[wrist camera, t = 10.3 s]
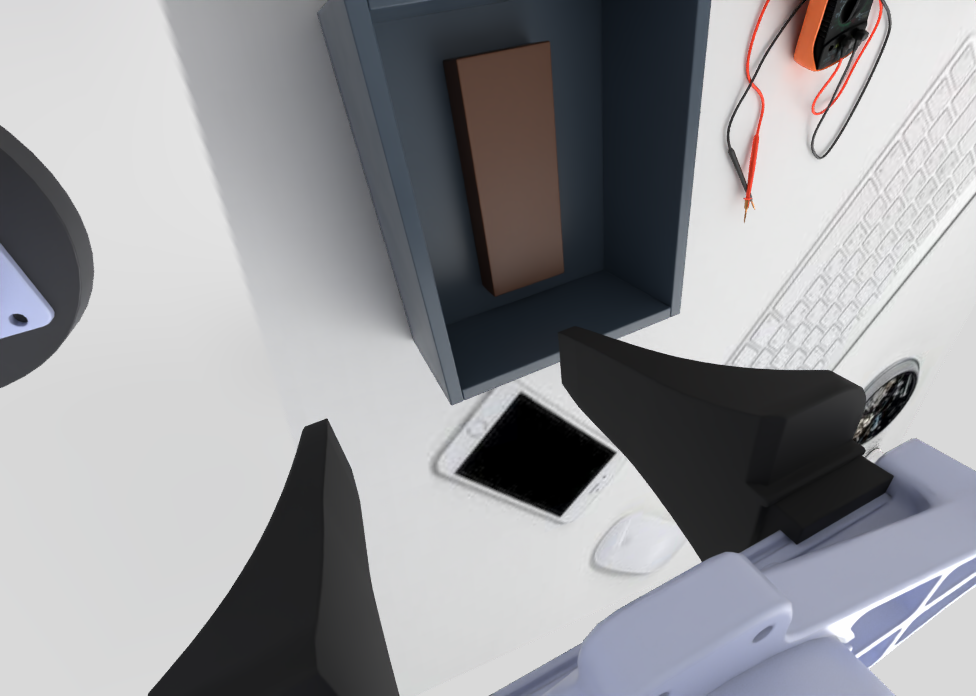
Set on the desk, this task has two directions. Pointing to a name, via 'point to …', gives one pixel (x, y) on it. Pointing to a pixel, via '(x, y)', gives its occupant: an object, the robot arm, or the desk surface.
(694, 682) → the robot arm
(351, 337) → the desk surface
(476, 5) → the open box
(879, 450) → the chess pawn
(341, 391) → the desk surface
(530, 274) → the brown rectangular block
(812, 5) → the multimeter
